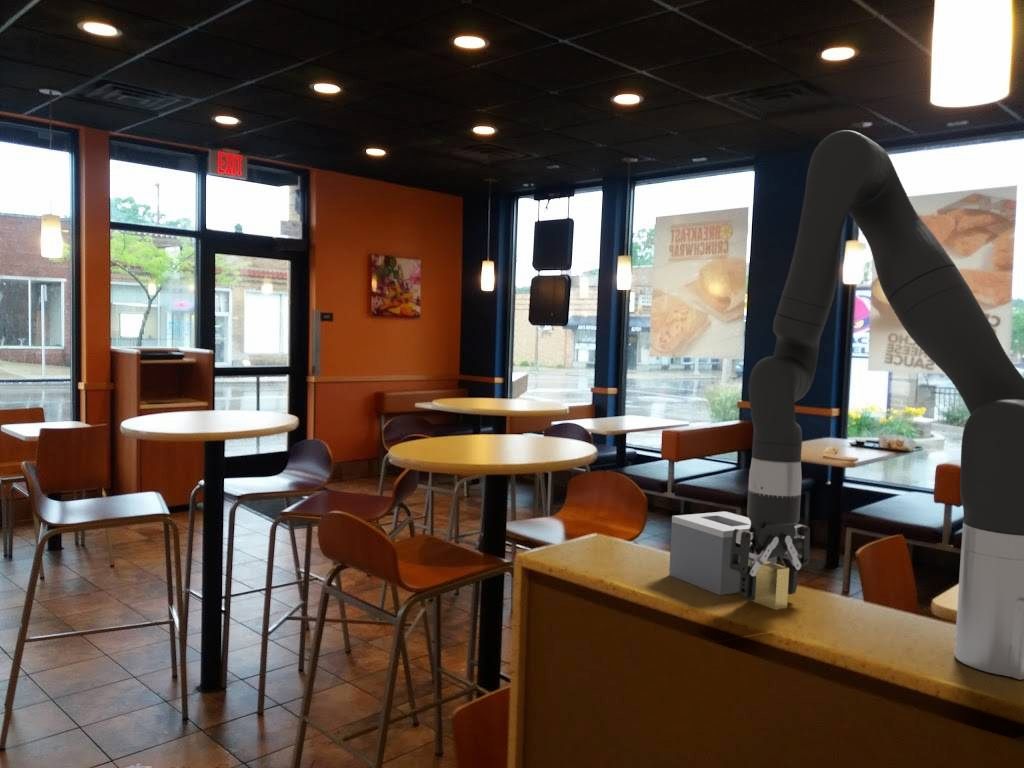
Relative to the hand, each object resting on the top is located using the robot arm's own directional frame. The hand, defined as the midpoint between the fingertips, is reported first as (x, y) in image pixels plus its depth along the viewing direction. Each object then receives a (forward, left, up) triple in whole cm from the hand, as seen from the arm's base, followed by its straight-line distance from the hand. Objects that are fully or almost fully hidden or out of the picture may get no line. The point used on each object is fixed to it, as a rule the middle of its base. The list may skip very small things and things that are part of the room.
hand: (768, 596), depth 123 cm
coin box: (+12, -2, -1) cm, 12 cm away
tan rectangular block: (0, 0, +2) cm, 2 cm away
